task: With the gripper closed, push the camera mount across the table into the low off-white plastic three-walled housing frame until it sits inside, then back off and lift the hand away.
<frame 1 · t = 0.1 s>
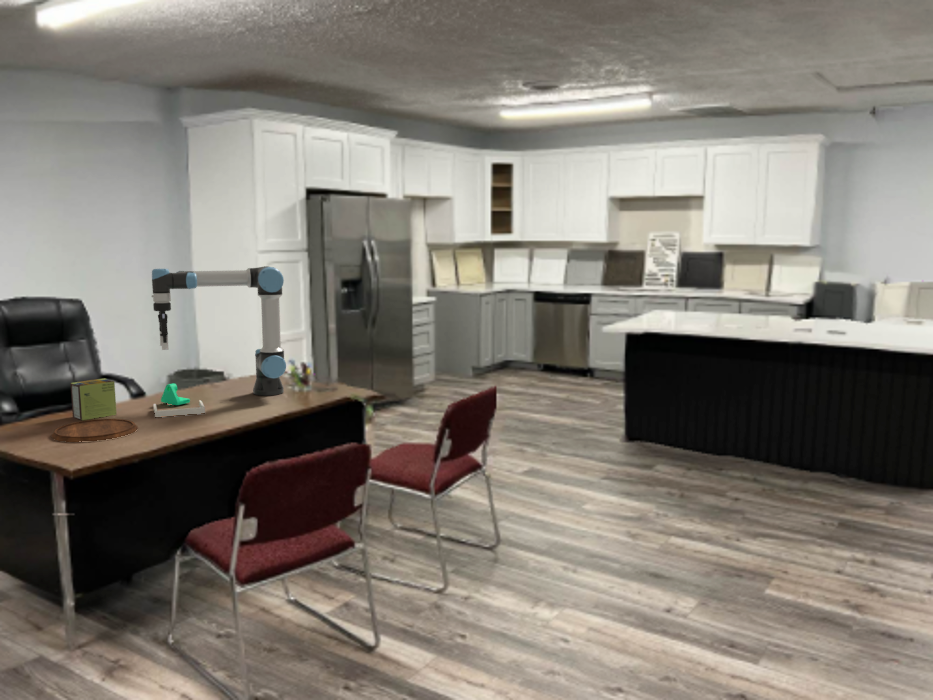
hand: (164, 347, 362), 28 cm above the table, tool pointing down, fingers open, 13 cm apart
cutting board: (95, 433, 318), on the table
housing frame: (179, 412, 355), on the table
protein box: (94, 416, 347), on the table
camera mount: (176, 404, 372), on the table
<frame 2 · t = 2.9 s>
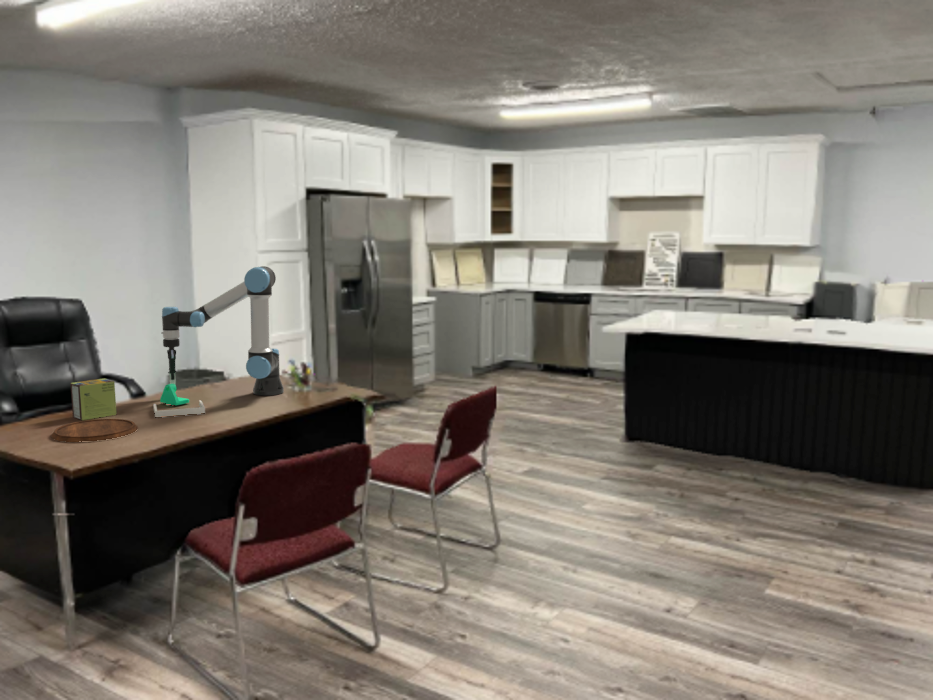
hand: (172, 385, 384), 6 cm above the table, tool pointing down, fingers closed
nothing on the table moved.
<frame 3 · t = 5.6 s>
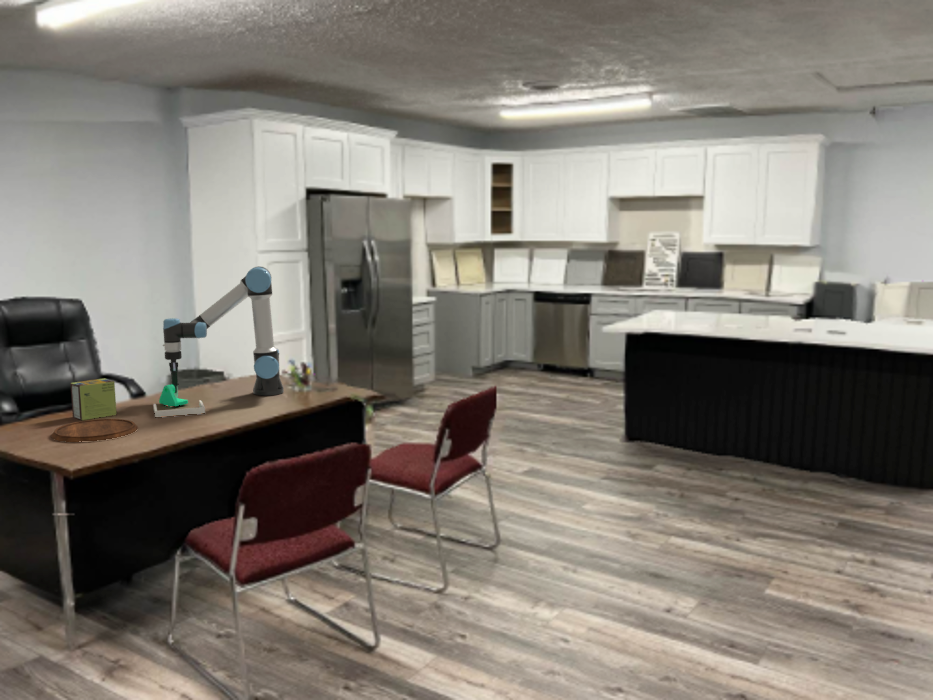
hand: (175, 399, 376), 1 cm above the table, tool pointing down, fingers closed
camera mount: (174, 405, 369), on the table, touching gripper
everything else where it was.
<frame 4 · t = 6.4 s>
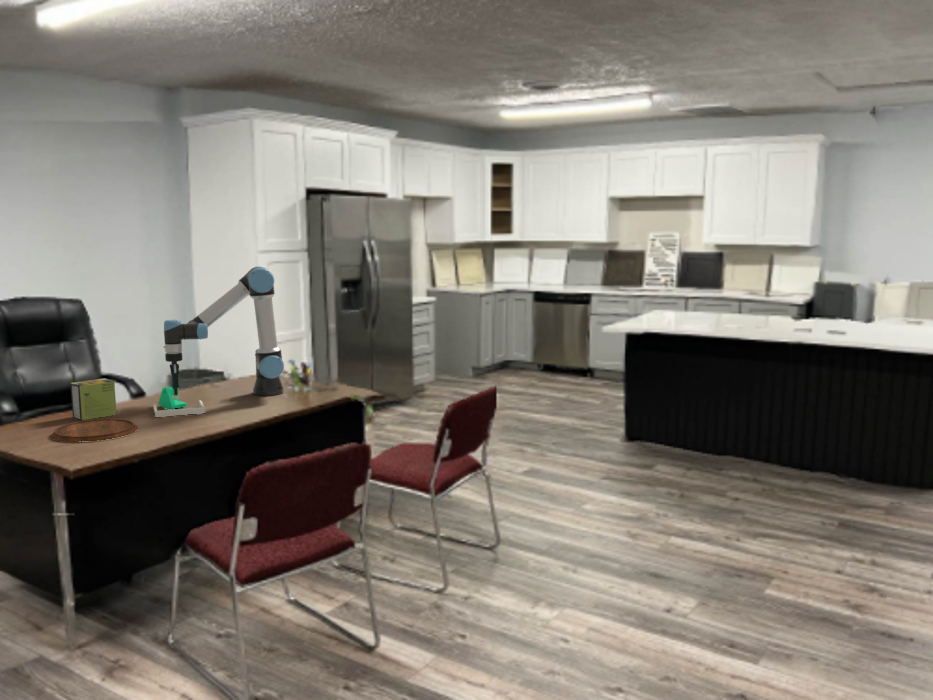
hand: (176, 401, 370), 1 cm above the table, tool pointing down, fingers closed
camera mount: (173, 408, 363), on the table, touching gripper
everything else where it was.
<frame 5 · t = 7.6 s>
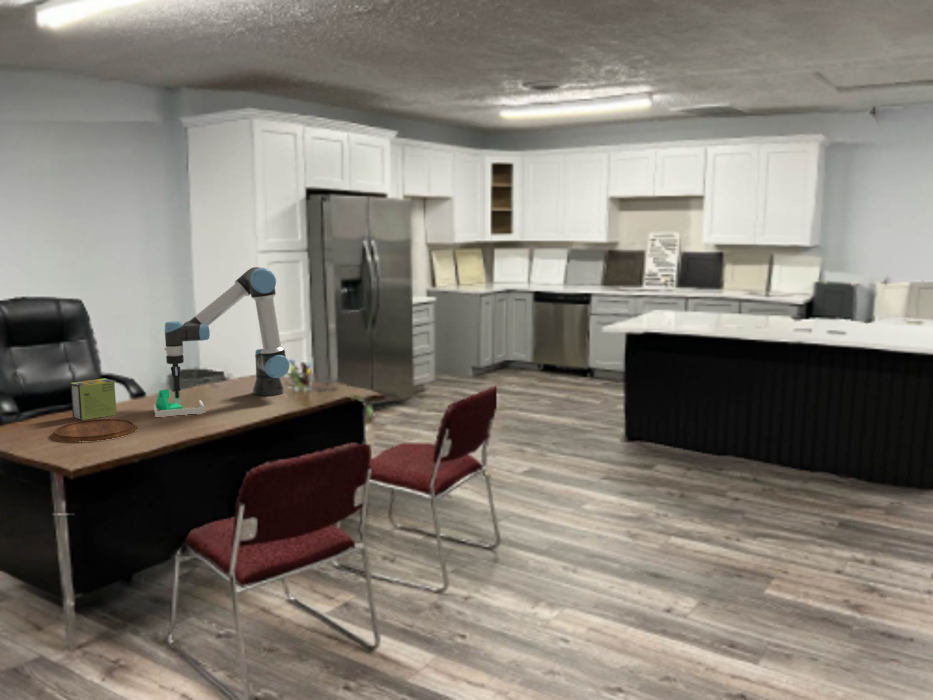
hand: (177, 404, 364), 1 cm above the table, tool pointing down, fingers closed
camera mount: (169, 411, 358), on the table, touching gripper
everything else where it was.
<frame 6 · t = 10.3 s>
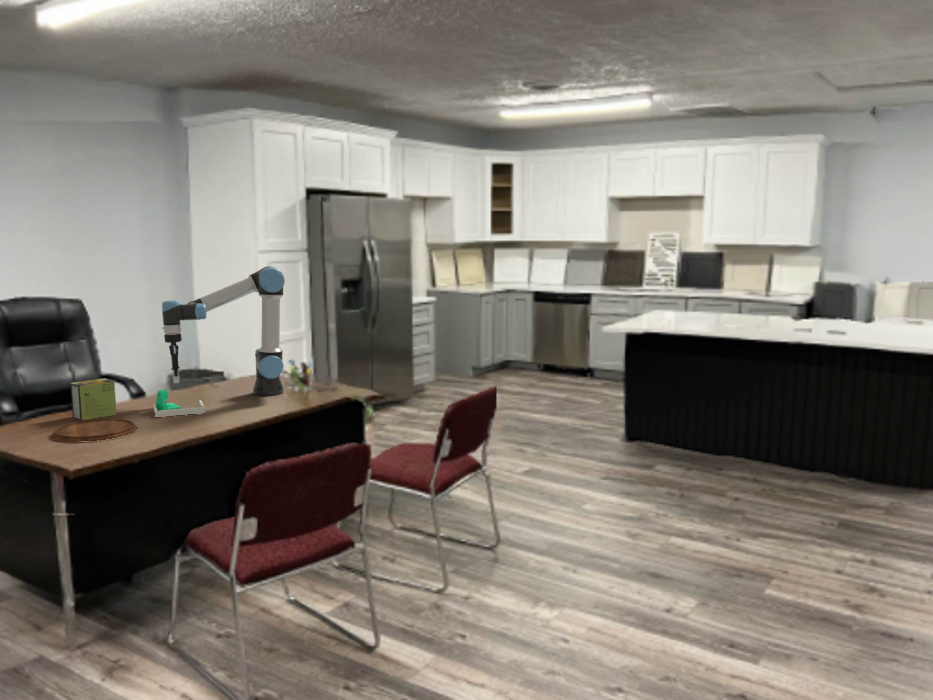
hand: (176, 382, 370), 10 cm above the table, tool pointing down, fingers closed
camera mount: (168, 412, 357), on the table
everything else where it was.
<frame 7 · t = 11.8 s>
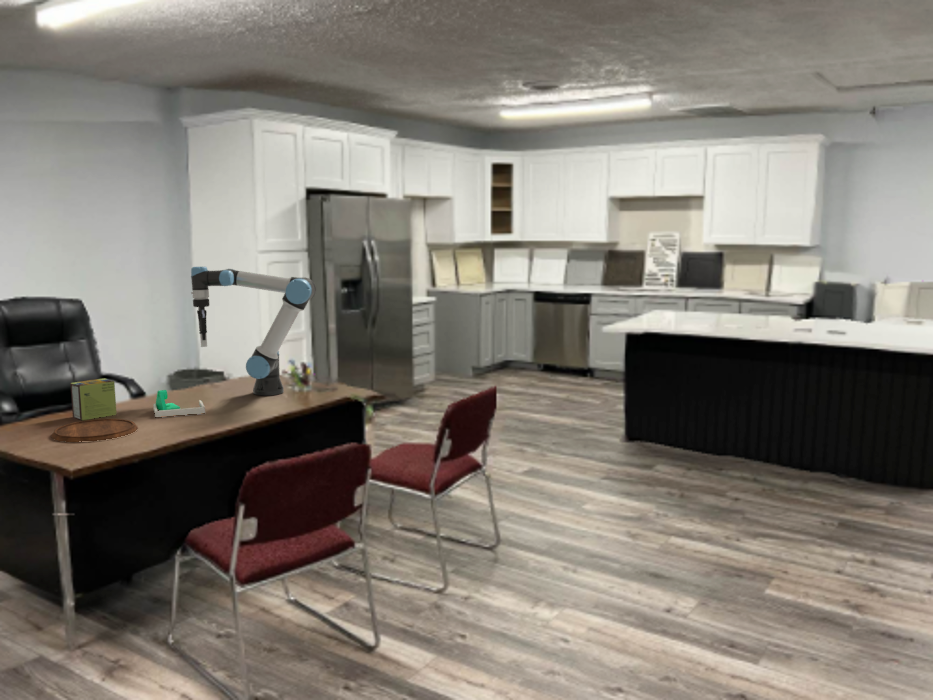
hand: (204, 346, 381), 26 cm above the table, tool pointing down, fingers closed
nothing on the table moved.
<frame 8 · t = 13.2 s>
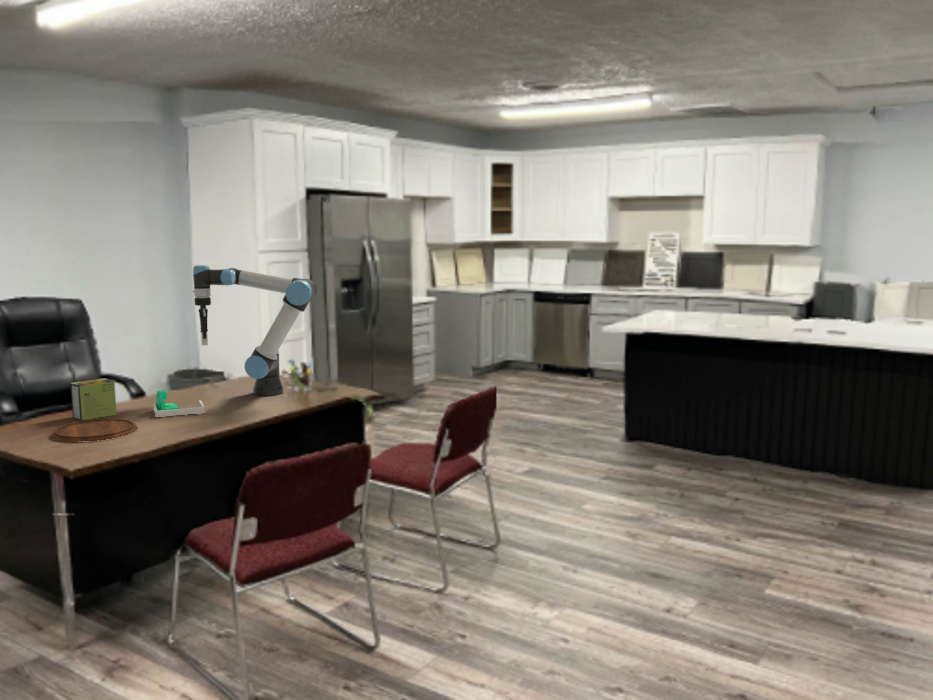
hand: (204, 345, 382), 26 cm above the table, tool pointing down, fingers closed
nothing on the table moved.
at the end: camera mount inside the target area on the housing frame (6.0 cm from its centre), point 0.0 cm above the housing frame's base; camera mount moved 15.9 cm from its start; camera mount tilted 0° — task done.
